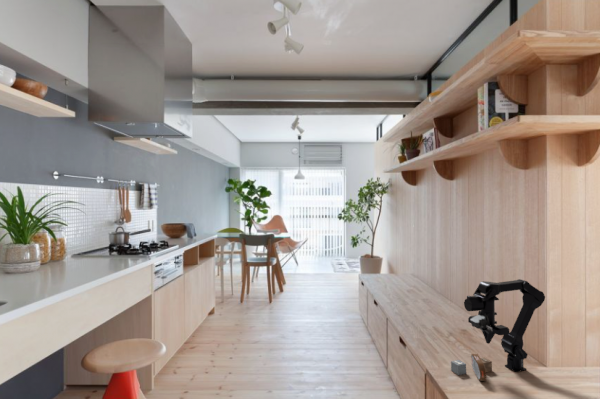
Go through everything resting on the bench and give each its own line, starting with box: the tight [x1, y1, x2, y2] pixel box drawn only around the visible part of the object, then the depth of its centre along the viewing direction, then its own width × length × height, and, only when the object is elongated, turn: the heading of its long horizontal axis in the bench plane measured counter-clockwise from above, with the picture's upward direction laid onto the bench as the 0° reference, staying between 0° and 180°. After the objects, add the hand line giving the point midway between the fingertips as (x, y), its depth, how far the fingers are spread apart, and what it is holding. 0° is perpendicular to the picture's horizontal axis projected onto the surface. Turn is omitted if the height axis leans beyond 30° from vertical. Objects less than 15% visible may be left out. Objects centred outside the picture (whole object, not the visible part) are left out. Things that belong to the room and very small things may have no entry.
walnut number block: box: [480, 357, 493, 373], centre depth 169 cm, size 4×4×5 cm
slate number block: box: [450, 359, 467, 376], centre depth 167 cm, size 4×4×5 cm
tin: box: [470, 353, 487, 382], centre depth 163 cm, size 15×3×8 cm, turn 168°
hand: (488, 343), depth 168 cm, fingers closed
